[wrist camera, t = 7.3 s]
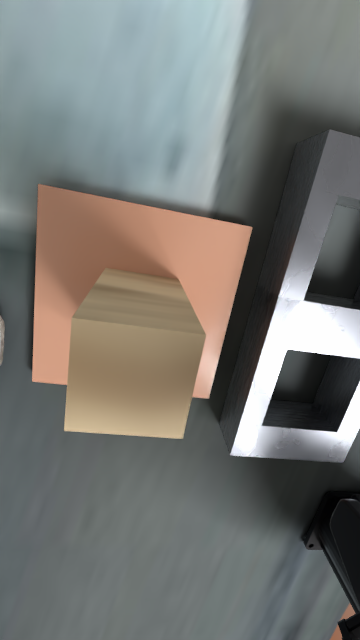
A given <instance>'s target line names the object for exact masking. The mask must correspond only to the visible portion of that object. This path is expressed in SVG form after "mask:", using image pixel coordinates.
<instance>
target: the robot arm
mask: <svg viewBox="0 0 360 640" xmlns="http://www.w3.org/2000/svg"><path fill="white" fill-rule="evenodd" d="M304 545H305V547H306V549H309V550H323V552H324V554H325V556H326V557H327V559H328V561H329V563H330V565H331V567H332V569H333V571H334V573H335V575H336V577H337V578H338V580H339V582H340V584H341V586H342V588H343V590H344V592H345V594H346V596H347V598H348V599H349V601H350V603H351V605H352V607H353V609H354V611H355V613H356V614H355V615H353V616H351V617H349V618H348V619H346V620H345V619H342V620H341V621H339V622H338V625H339V628H340V630H341V634H342V640H360V493H349V492H329V493H327V494H326V495H325V496H324V499H323V501H322V503H321V505H320V507H319V509H318V512H317V514H316V516H315V518H314V520H313V522H312V525H311V527H310V529H309V531H308V533H307V535H306V538H305V540H304Z"/></svg>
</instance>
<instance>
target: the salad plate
mask: <svg viewBox="0 0 360 640" xmlns="http://www.w3.org/2000/svg"><path fill="white" fill-rule="evenodd" d="M4 331H5V325H4V321H3V319H2V317H1V315H0V365H1V363H2V361H3V350H4Z"/></svg>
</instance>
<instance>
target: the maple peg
mask: <svg viewBox="0 0 360 640" xmlns="http://www.w3.org/2000/svg"><path fill="white" fill-rule="evenodd" d="M205 338H206V334H205V332H204V330H203V328H202V326H201V324H200V322H199V319H198V317H197V315H196V313H195V311H194V309H193V307H192V305H191V303H190V301H189V299H188V297H187V295H186V293H185V291H184V289H183V287H182V285H181V283H180V281H179V279H175V278H168V277H162V276H156V275H149V274H143V273H137V272H130V271H124V270H117V269H111V268H105V270H104V271H103V272H102V274H101V275H100V277H99V278H98V280H97V281H96V283H95V284H94V286H93V287H92V289H91V290H90V292H89V293H88V295H87V296H86V297H85V299H84V300H83V302H82V303H81V305H80V306H79V308H78V309H77V311H76V312H75V314H74V315H73V317H72V321H71V336H70V351H69V365H68V380H67V395H66V410H65V425H64V431H73V432H88V433H103V434H118V435H132V436H147V437H162V438H177V439H183V435H184V430H185V426H186V422H187V417H188V413H189V408H190V404H191V400H192V395H193V391H194V386H195V382H196V378H197V373H198V369H199V364H200V360H201V355H202V351H203V347H204V342H205Z"/></svg>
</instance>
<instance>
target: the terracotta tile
mask: <svg viewBox="0 0 360 640" xmlns="http://www.w3.org/2000/svg"><path fill="white" fill-rule="evenodd" d="M252 228H253V227H250V226H245V225H240V224H235V223H230V222H225V221H220V220H215V219H210V218H205V217H200V216H195V215H190V214H185V213H180V212H175V211H171V210H166V209H161V208H156V207H151V206H146V205H141V204H136V203H131V202H126V201H121V200H116V199H111V198H106V197H101V196H96V195H91V194H86V193H82V192H77V191H72V190H67V189H62V188H57V187H52V186H47V185H42V184H38V204H37V237H36V270H35V303H34V337H33V370H32V382H42V383H52V384H63V385H67V380H68V365H69V351H70V336H71V321H72V317H73V315H74V314H75V312H76V311H77V309H78V308H79V306H80V305H81V303H82V302H83V300H84V299H85V297H86V296H87V295H88V293H89V292H90V290H91V289H92V287H93V286H94V284H95V283H96V281H97V280H98V278H99V277H100V275H101V274H102V272H103V271H104V270H105V268H111V269H117V270H124V271H130V272H137V273H143V274H149V275H156V276H162V277H168V278H175V279H179V281H180V283H181V285H182V287H183V289H184V291H185V293H186V295H187V297H188V299H189V301H190V303H191V305H192V307H193V309H194V311H195V313H196V315H197V317H198V319H199V322H200V324H201V326H202V328H203V330H204V332H205V334H206V338H205V342H204V347H203V351H202V355H201V360H200V364H199V369H198V373H197V378H196V382H195V386H194V391H193V395H192V397H197V398H207V399H209V396H210V392H211V388H212V384H213V380H214V376H215V372H216V368H217V364H218V361H219V357H220V353H221V349H222V345H223V341H224V337H225V333H226V329H227V325H228V322H229V318H230V314H231V310H232V306H233V302H234V298H235V294H236V290H237V286H238V282H239V279H240V275H241V271H242V267H243V263H244V259H245V255H246V251H247V247H248V243H249V239H250V236H251V232H252Z"/></svg>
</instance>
